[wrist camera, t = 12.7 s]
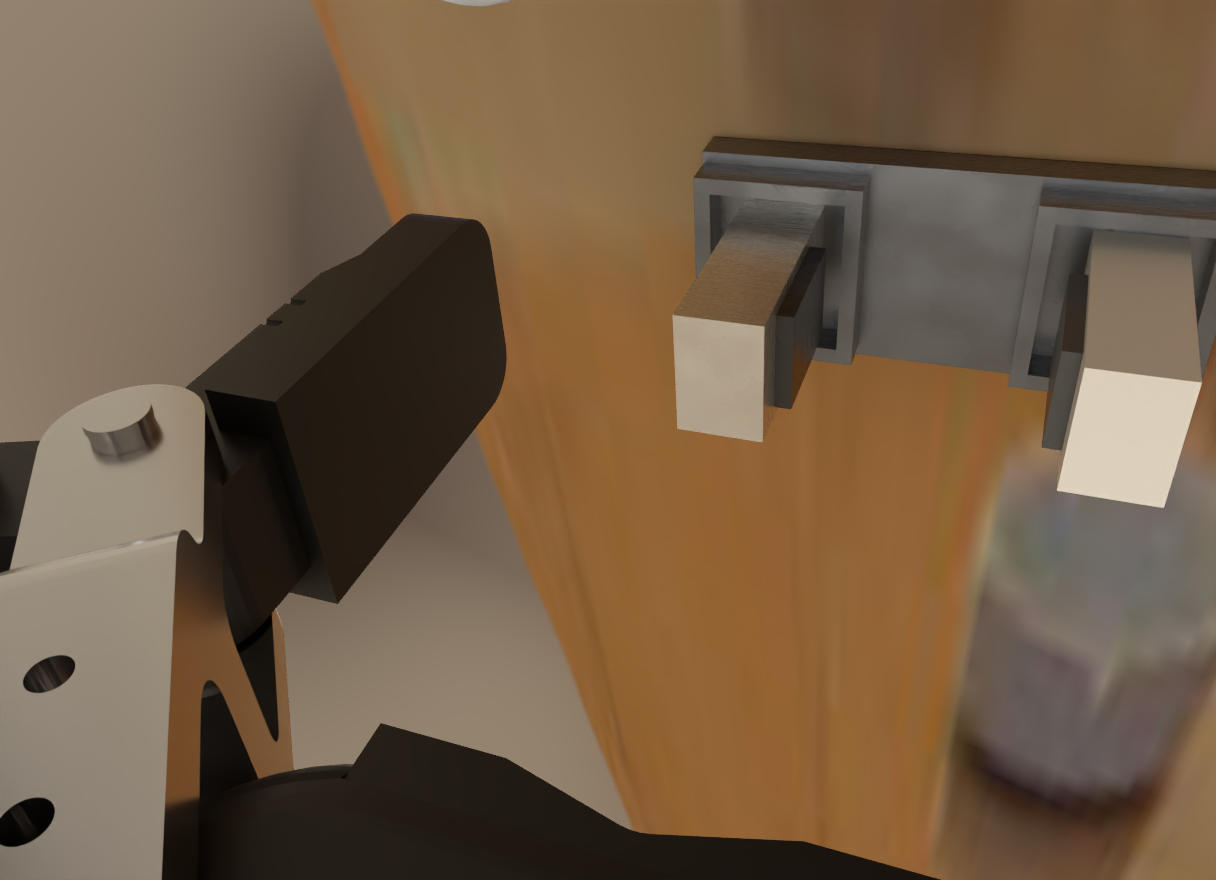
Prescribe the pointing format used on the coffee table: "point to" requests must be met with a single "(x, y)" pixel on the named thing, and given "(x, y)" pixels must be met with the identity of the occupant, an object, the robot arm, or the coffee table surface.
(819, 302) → the grey boxy piece
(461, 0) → the bottle
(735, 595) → the coffee table surface
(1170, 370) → the block
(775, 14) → the coffee table surface
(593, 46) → the coffee table surface
